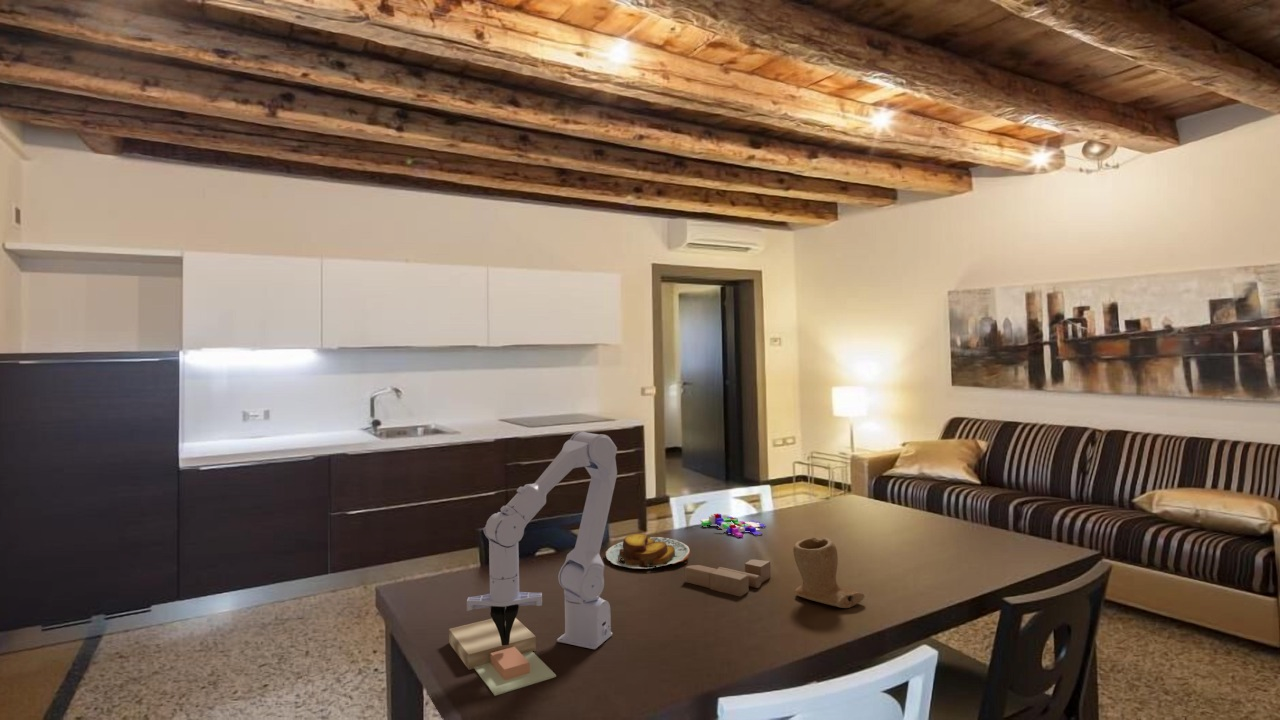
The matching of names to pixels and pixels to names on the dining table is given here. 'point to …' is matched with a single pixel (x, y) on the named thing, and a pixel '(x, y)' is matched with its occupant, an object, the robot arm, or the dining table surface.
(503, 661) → the tile
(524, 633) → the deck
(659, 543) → the food on plate
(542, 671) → the mat
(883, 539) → the dining table surface
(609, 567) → the dining table surface
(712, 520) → the building block set
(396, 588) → the dining table surface
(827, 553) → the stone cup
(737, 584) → the wooden block set
